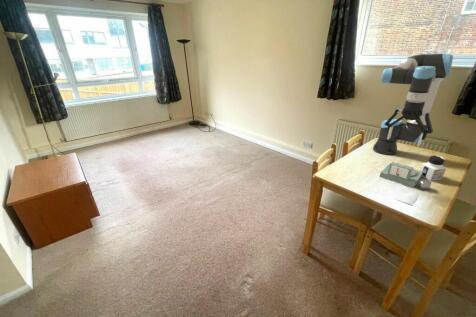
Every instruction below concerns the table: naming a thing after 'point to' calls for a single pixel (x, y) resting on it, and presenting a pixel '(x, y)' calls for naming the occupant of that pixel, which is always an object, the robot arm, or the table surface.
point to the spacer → (424, 184)
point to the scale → (401, 174)
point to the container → (433, 168)
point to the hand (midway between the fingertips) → (403, 141)
